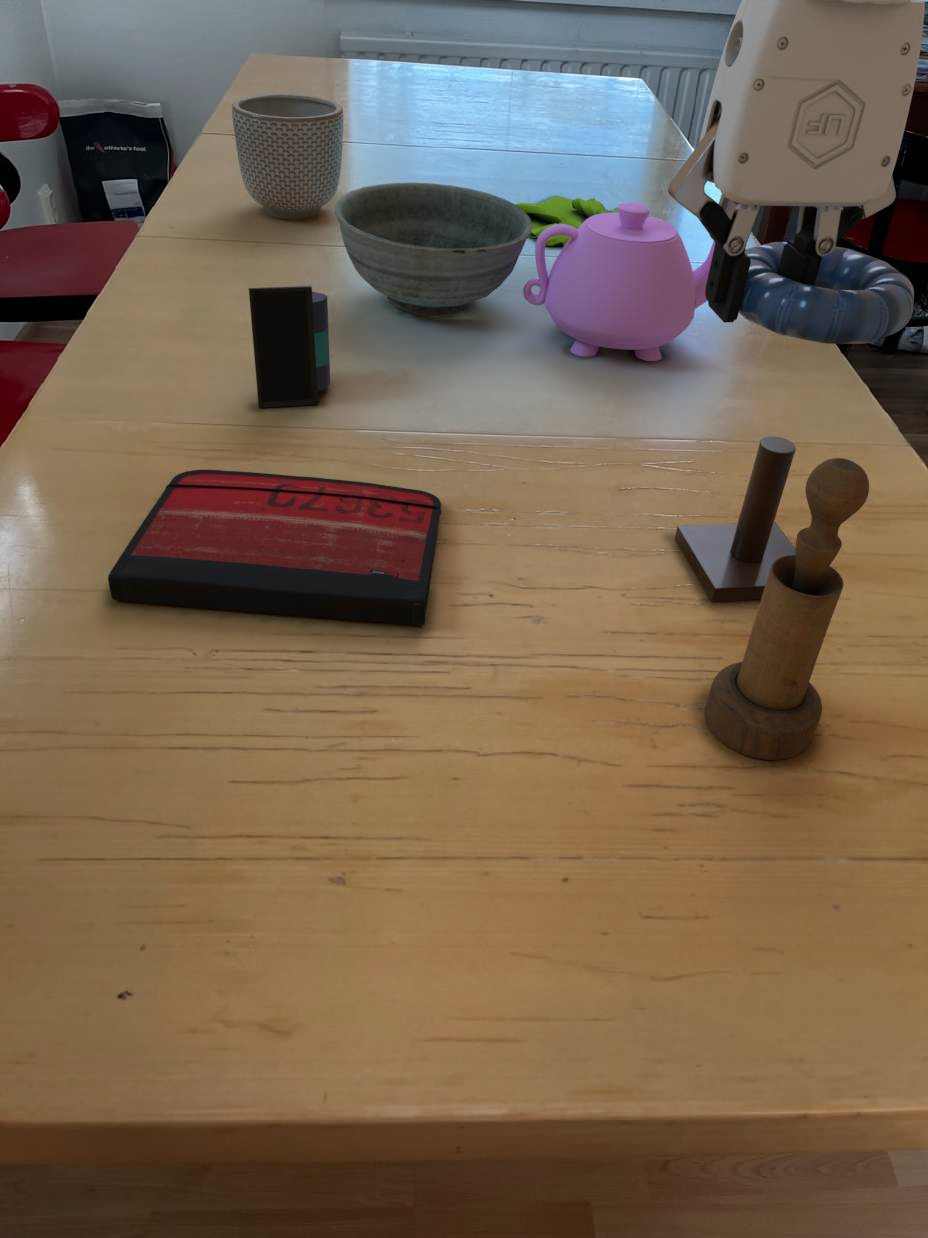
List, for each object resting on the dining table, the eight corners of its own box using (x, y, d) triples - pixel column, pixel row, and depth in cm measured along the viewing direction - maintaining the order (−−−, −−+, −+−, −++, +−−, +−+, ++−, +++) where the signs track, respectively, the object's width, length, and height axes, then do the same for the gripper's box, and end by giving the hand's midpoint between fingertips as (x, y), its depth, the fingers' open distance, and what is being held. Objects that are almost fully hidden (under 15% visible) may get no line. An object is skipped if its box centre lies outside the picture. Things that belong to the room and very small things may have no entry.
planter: (255, 232, 126) (247, 120, 118) (227, 200, 136) (219, 94, 128) (359, 224, 131) (359, 116, 123) (325, 193, 141) (323, 91, 133)
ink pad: (426, 600, 65) (104, 574, 65) (424, 629, 66) (109, 603, 66) (444, 483, 78) (175, 461, 78) (443, 509, 79) (179, 488, 79)
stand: (816, 596, 72) (859, 472, 66) (711, 602, 71) (745, 476, 64) (771, 534, 78) (807, 415, 72) (674, 538, 77) (702, 418, 70)
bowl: (397, 257, 122) (399, 170, 116) (553, 295, 115) (564, 205, 109) (298, 309, 108) (294, 213, 101) (469, 357, 101) (476, 257, 94)
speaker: (320, 412, 89) (313, 293, 83) (257, 408, 89) (245, 290, 84) (338, 383, 95) (333, 271, 90) (279, 380, 96) (270, 268, 90)
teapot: (712, 319, 113) (740, 191, 104) (739, 379, 100) (774, 239, 92) (517, 306, 112) (529, 176, 104) (520, 364, 100) (535, 223, 91)
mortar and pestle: (745, 672, 65) (824, 421, 54) (833, 727, 61) (938, 470, 50) (682, 717, 61) (753, 457, 50) (772, 779, 57) (870, 514, 46)
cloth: (541, 253, 126) (544, 234, 125) (473, 202, 142) (474, 184, 140) (678, 242, 133) (682, 223, 132) (599, 194, 149) (601, 177, 147)
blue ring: (939, 351, 59) (957, 301, 57) (761, 353, 57) (775, 301, 55) (852, 281, 68) (866, 236, 66) (695, 281, 66) (705, 234, 64)
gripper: (713, -41, 46) (643, 340, 57) (1032, -22, 49) (905, 337, 60) (661, -59, 52) (607, 291, 63) (949, -41, 55) (848, 290, 66)
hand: (753, 310), depth 62 cm, fingers closed on blue ring, 3 cm apart
